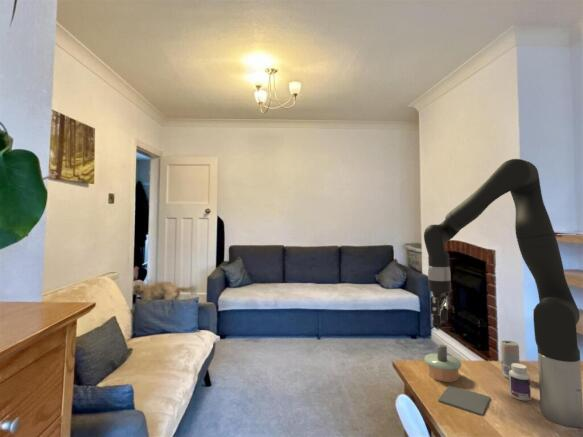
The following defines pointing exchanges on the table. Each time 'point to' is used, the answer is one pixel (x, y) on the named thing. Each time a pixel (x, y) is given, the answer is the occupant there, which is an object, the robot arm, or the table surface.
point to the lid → (442, 359)
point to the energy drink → (509, 356)
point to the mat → (465, 399)
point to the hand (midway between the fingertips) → (440, 322)
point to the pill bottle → (519, 382)
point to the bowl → (443, 374)
